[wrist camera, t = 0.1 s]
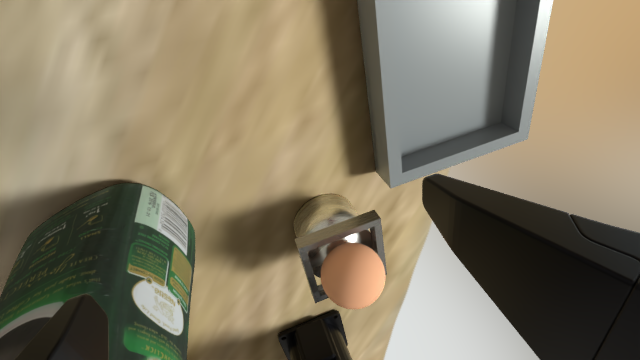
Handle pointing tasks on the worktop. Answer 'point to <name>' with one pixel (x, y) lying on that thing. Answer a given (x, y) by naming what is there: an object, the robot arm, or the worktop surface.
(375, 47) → the tray
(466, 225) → the robot arm
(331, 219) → the hollow square frame
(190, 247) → the coffee jar
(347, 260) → the ball
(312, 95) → the worktop surface
